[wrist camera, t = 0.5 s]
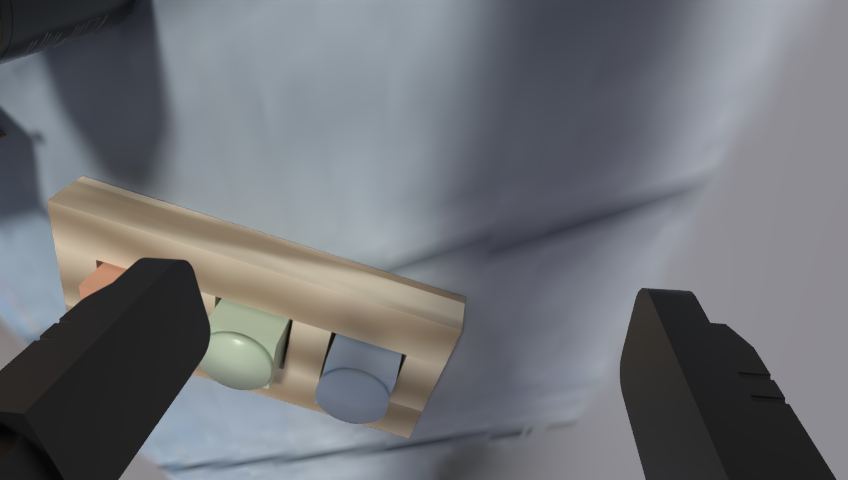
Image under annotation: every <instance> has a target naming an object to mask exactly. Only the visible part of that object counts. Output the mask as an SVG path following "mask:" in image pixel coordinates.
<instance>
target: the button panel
mask: <svg viewBox="0 0 848 480" xmlns="http://www.w3.org/2000/svg"><path fill="white" fill-rule="evenodd" d="M47 205H48V210H49V216H50V221H51V227H52V232H53V238H54V243H55V249H56V254H57V260H58V265H59V271H60V276H61V282H62V287H63V293H64V298H65V304H66V309H67V312H68V311H69V310H70V309H72V308H73V307H74V306H75V305H76V304H77V303H78V302H80V301H81V297H80V290H79V285H80V284H81V283H82V282H83V281H84V280H85V279H86V278H87V277H88V276H89V275H91V274H92V273H93V272H94V271H95V270H96V269H97V268H98V267H99V266H100V265H101V264H102V263H103V262H105V263H109V264H112V265H115V266H118V267H122V268H125V269H128V268H129V267H130V266H132V265H133V264H134V263H135V262H136V261H137V260H139V259H141V258H144V257H148V258H165V259H182V260H186V261H188V262H189V263H190V264H191V265H192V267H193V269H194V272H195V276H196V279H197V282H198V286H199V289H200V292H201V296H202V299H203V302H204V306H205V309H206V313H207V316H208V317H209V316H210V315H211V313H212V312H213V310H214V309H215V307H216V306H217V304H218V303H219V302H220V300H221V299H226V300H229V301H232V302H235V303H239V304H242V305H245V306H248V307H252V308H255V309H258V310H261V311H265V312H268V313H271V314H274V315H278V316H281V317H284V318H288V319H290V324H289V329H288V335H287V340H286V345H285V350H284V355H283V360H282V362H281V364H280V366H279V368H278V370H277V372H276V374H275V376H274V379H273V381H272V383H271V385H270V387H269V389H266V388H262V387H261V388H258V389H254V390H247V391H251V392H254V393H257V394H261V395H264V396H267V397H271V398H274V399H278V400H281V401H284V402H288V403H291V404H294V405H298V406H301V407H304V408H308V409H311V410H315V411H318V412H321V413H325V414H328V413H327V412H325V411H324V410H323V409H322V408H321V407H320V405H319V404H316V403H315V399H316V397H315V391H316V388H317V385H318V382H319V380H320V378H321V377H322V374H323V370H324V366H325V363H326V360H327V357H328V354H329V352H330V349H331V346H332V344H333V341H334V338H335V336H336V334H340V335H343V336H346V337H349V338H353V339H356V340H359V341H362V342H366V343H369V344H372V345H375V346H379V347H382V348H385V349H388V350H392V351H395V352H398V353H401V354H402V357H401V361H400V366H399V370H398V375H397V379H396V383H395V385H394V388H393V390H392V392H391V395H390V401H389V405H388V409H387V412H386V414H385V415H384V416H383V417H382V418H381V419H380V421H379V422H377V421H375V422H371V423H366V424H362V425H365V426H368V427H372V428H375V429H379V430H382V431H385V432H389V433H392V434H395V435H399V436H402V437H405V438H409V437H410V435H411V433H412V431H413V429H414V427H415V425H416V423H417V421H418V419H419V417H420V415H421V413H422V411H423V409H424V407H425V405H426V403H427V401H428V399H429V397H430V395H431V393H432V391H433V389H434V387H435V385H436V383H437V381H438V379H439V377H440V375H441V373H442V371H443V369H444V367H445V365H446V363H447V361H448V359H449V356H450V354H451V352H452V350H453V348H454V346H455V344H456V342H457V340H458V338H459V336H460V334H461V332H462V329H463V319H464V309H465V298H466V297H463V296H460V295H456V294H453V293H450V292H447V291H444V290H441V289H437V288H434V287H431V286H428V285H425V284H422V283H419V282H415V281H412V280H409V279H406V278H403V277H400V276H396V275H393V274H390V273H387V272H384V271H381V270H378V269H374V268H371V267H368V266H365V265H362V264H359V263H355V262H352V261H349V260H346V259H343V258H340V257H336V256H333V255H330V254H327V253H324V252H321V251H318V250H314V249H311V248H308V247H305V246H302V245H299V244H295V243H292V242H289V241H286V240H283V239H280V238H277V237H273V236H270V235H267V234H264V233H261V232H258V231H254V230H251V229H248V228H245V227H242V226H239V225H235V224H232V223H229V222H226V221H223V220H220V219H217V218H213V217H210V216H207V215H204V214H201V213H198V212H194V211H191V210H188V209H185V208H182V207H179V206H176V205H172V204H169V203H166V202H163V201H160V200H157V199H153V198H150V197H147V196H144V195H141V194H138V193H134V192H131V191H128V190H125V189H122V188H119V187H116V186H112V185H109V184H106V183H103V182H100V181H97V180H93V179H90V178H87V177H84V176H82V177H80V178H79V179H78V180H76V181H75V182H73V183H72V184H70V185H69V186H67V187H66V188H64V189H63V190H61V191H60V192H58V193H57V194H55V195H54V196H52V197H51V198H50V199H48V200H47ZM192 374H193V375H197V376H200V377H203V378H207V379H210V380H214V379H212V378H211V377H210V376H208V375H207V374H206V373H205V372H204V371H203V370H202V368H201V366H200V365H198V366H197V368H196V369H195V371H194V372H193V373H192ZM214 381H215V380H214ZM328 415H329V414H328Z"/></svg>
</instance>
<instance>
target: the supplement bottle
mask: <svg viewBox="0 0 848 480" xmlns="http://www.w3.org/2000/svg"><path fill="white" fill-rule="evenodd" d="M136 1H137V0H0V64H3V63H6V62H9V61H13V60H16V59H19V58H22V57H25V56H28V55H31V54H34V53H37V52H40V51H43V50H46V49H49V48H53V47H56V46H59V45H62V44H65V43H68V42H71V41H74V40H77V39H80V38H83V37H86V36H89V35H93V34H96V33H99V32H101V31H104V30H107V29H110V28H112V27H114V26H116V25H118V24H119V23H121V22H122V21H123V20H124V19H125V18H126V17H127V16H128V15H129V14H130V13H131V11H132V10H133V8H134V6H135V4H136Z"/></svg>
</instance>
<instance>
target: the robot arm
mask: <svg viewBox="0 0 848 480" xmlns="http://www.w3.org/2000/svg"><path fill="white" fill-rule="evenodd" d="M210 335H211V329H210V323H209V319H208V316H207V313H206V309H205V306H204V302H203V299H202V296H201V292H200V289H199V286H198V282H197V279H196V276H195V272H194V269H193V267H192V265H191V264H190V263H189V262H188V261H186V260H182V259H165V258H148V257H144V258H141V259H139V260H137V261H136V262H135V263H134V264H133V265H132V266H130V267H129V268H128V269H127V270H126V271H125V272H124V273H123V274H121V275H120V276H119V277H118V278H117V279H116V280H115V281H114V282H112V283H111V284H109V285H107V286H105V287H103V288H101V289H100V290H98V291H96V292H94V293H92V294H91V295H89V296H87V297H85V298H83V299H82V300H81V301H80V302H78V303H77V304H76V305H75V306H74V307H73V308H72V309H70V310H69V311H68V312H67V313H66V314H65V315H64V316H62V317H61V318H60V322H59V323H54V324H53V325H52V326H51V327H50V328H49V329H47V330H46V331H45V332H44V333H43V334H42V335H41V336H40V340H39V341H34V342H33V343H31V344H30V345H29V346H28V347H27V348H26V349H25V350H23V351H22V352H21V353H20V354H19V355H18V356H17V357H15V358H14V359H13V360H12V361H11V362H10V363H8V364H7V365H6V366H5V367H4V368H3V369H2V370H1V371H0V480H118V479H119V478H120V477H121V475H122V474H123V472H124V471H125V469H126V468H127V466H128V465H129V464H130V462H131V461H132V459H133V458H134V456H135V455H136V454H137V452H138V451H139V449H140V448H141V447H142V445H143V444H144V442H145V441H146V439H147V438H148V436H149V435H150V434H151V432H152V431H153V429H154V428H155V426H156V425H157V424H158V422H159V421H160V419H161V418H162V416H163V415H164V414H165V412H166V411H167V409H168V408H169V406H170V405H171V404H172V402H173V401H174V399H175V398H176V396H177V395H178V394H179V392H180V391H181V389H182V388H183V386H184V385H185V383H186V382H187V381H188V379H189V378H190V376H191V375H192V373H193V372H194V371H195V369H196V368H197V366H198V365H199V363H200V362H201V361H202V359H203V358H204V356H205V354H206V352H207V349H208V346H209V342H210ZM770 375H771V374H770V373H769V371H768V370H767V368H766V367H765V365H764V363H763V362H762V360H761V358H760V357H759V355H758V354H757V352H756V351H755V349H754V347H752V346H751V345H750V344H749V343H748V342H746V341H745V340H744V339H743V338H742V337H740V336H739V335H738V334H737V333H736V332H734V331H733V330H732V329H731V328H730V327H728V326H727V325H726V324H716V323H710V322H709V320H708V318H707V316H706V314H705V313H704V311H703V309H702V307H701V305H700V304H699V302H698V300H697V298H696V296H695V295H694V294H693V293H692V292H691V291H681V290H665V289H649V288H642V289H640V291H639V292H638V294H637V296H636V300H635V304H634V308H633V312H632V315H631V319H630V323H629V327H628V331H627V335H626V339H625V343H624V347H623V351H622V356H621V362H620V383H621V390H622V394H623V398H624V402H625V406H626V409H627V413H628V417H629V420H630V424H631V427H632V431H633V435H634V438H635V442H636V445H637V449H638V453H639V457H640V460H641V464H642V467H643V471H644V474H645V478H646V480H836V478H835V477H834V475H833V473H832V472H831V470H830V469H829V467H828V465H827V464H826V462H825V461H824V459H823V457H822V456H821V454H820V453H819V451H818V449H817V448H816V446H815V445H814V443H813V442H812V440H811V438H810V437H809V435H808V434H807V432H806V430H805V429H804V427H803V426H802V424H801V422H800V421H799V419H798V418H797V416H796V414H795V413H794V411H793V410H792V408H791V406H790V405H789V404H786V403H785V397H784V395H783V394H782V392H781V391H780V389H779V387H778V386H777V384H776V383H775V381H774V380H771V379H770Z"/></svg>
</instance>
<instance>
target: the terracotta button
mask: <svg viewBox="0 0 848 480" xmlns="http://www.w3.org/2000/svg"><path fill="white" fill-rule="evenodd" d="M126 270H127V269H125V268H122V267H118V266H115V265H112V264H109V263H105V262H103V263H102V264H101V265H100V266H99V267H98V268H97V269H96V270H95V271H94V272H93V273H92V274H91V275H89V276H88V277H87V278H86V279H85V280H84V281H83V282H82V283H81V284H80V285H79V290H80V297H81V300H82V299H83V298H85V297H87V296H89V295H91V294H92V293H94V292H96V291H98V290H100V289H101V288H103V287H105V286H107V285H109V284H111V283H112V282H114V281H115V280H116V279H117V278H118V277H119V276H120V275H121V274H123V273H124V272H125V271H126Z"/></svg>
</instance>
